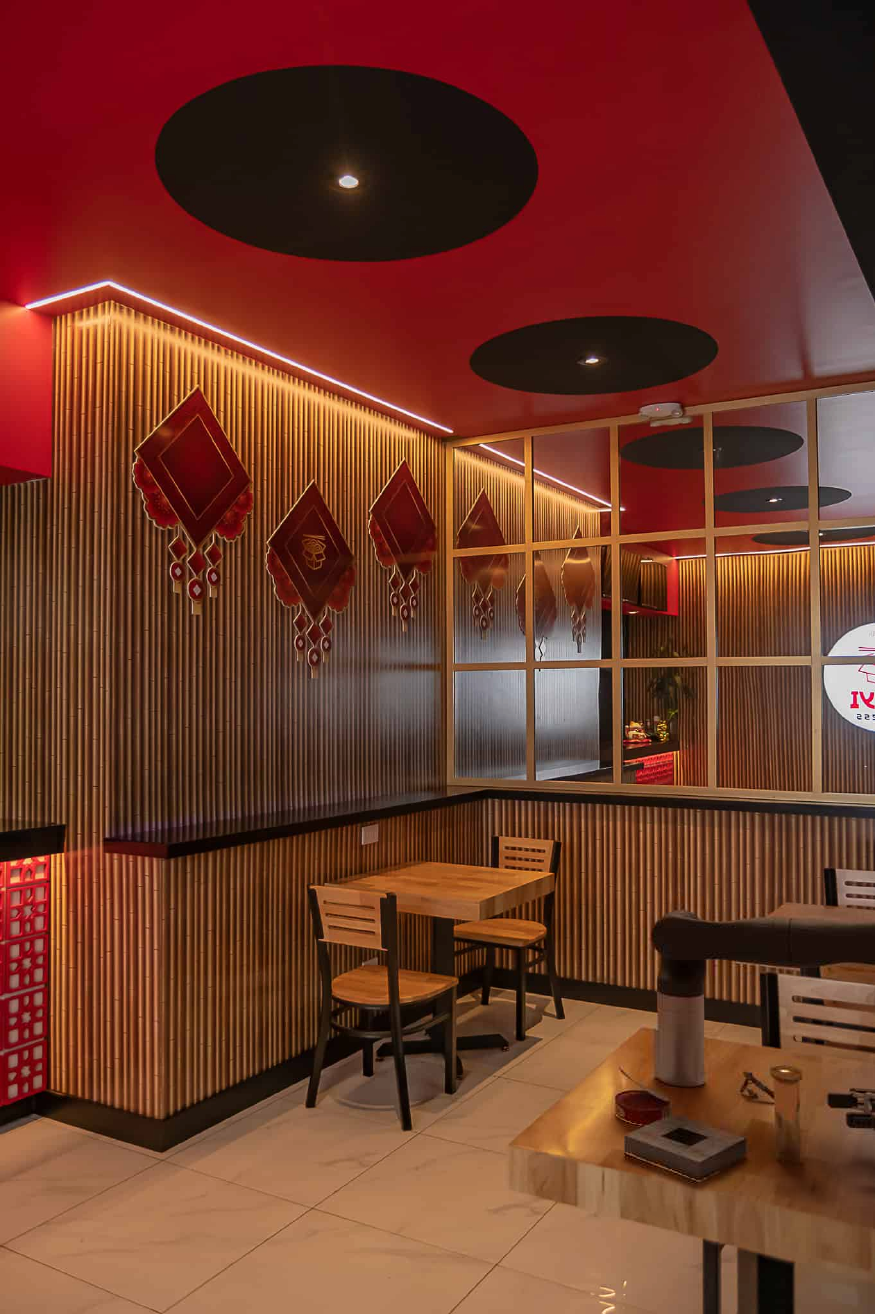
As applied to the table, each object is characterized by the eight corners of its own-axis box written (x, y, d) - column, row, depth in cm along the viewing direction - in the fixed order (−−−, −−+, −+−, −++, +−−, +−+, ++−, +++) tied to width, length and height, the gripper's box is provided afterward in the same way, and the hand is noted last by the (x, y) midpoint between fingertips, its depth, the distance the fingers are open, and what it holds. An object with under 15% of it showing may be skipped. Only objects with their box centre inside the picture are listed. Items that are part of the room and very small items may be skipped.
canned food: (623, 1133, 178) (624, 1076, 183) (677, 1137, 174) (676, 1078, 179) (604, 1121, 170) (606, 1062, 175) (660, 1125, 165) (660, 1064, 171)
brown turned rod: (738, 1086, 187) (747, 1067, 186) (775, 1114, 182) (784, 1093, 181) (734, 1089, 186) (742, 1069, 185) (771, 1116, 181) (780, 1096, 180)
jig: (624, 1154, 157) (624, 1135, 157) (672, 1132, 166) (672, 1114, 167) (699, 1182, 147) (699, 1162, 147) (746, 1157, 156) (745, 1138, 157)
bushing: (766, 1158, 156) (764, 1069, 157) (781, 1150, 159) (779, 1063, 161) (796, 1168, 152) (793, 1077, 154) (810, 1159, 156) (807, 1070, 157)
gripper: (918, 1074, 163) (821, 1071, 164) (959, 1105, 149) (853, 1102, 149) (920, 1120, 162) (822, 1117, 163) (961, 1156, 148) (854, 1152, 149)
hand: (837, 1110), depth 156 cm, fingers open, 8 cm apart
